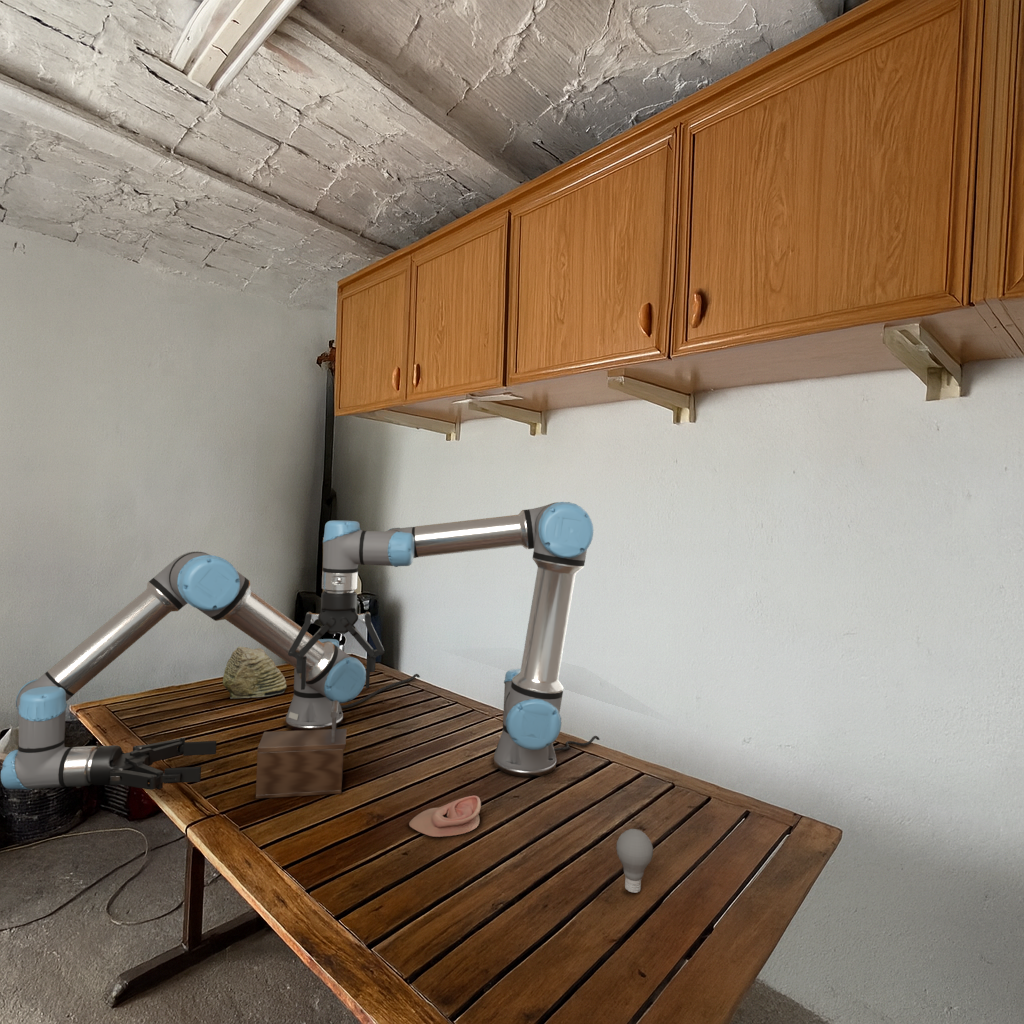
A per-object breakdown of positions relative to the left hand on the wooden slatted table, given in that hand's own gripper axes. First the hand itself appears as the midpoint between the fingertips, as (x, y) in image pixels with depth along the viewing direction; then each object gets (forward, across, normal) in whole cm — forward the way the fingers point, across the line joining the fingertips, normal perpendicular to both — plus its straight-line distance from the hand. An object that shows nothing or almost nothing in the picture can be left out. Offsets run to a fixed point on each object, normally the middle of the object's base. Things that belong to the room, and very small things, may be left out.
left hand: (208, 760), depth 134 cm
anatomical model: (+48, +20, -7) cm, 52 cm away
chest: (+19, 0, -7) cm, 20 cm away
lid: (+19, 0, +3) cm, 19 cm away
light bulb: (+76, +46, -7) cm, 89 cm away
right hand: (+25, 0, +15) cm, 29 cm away
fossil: (-1, -66, -7) cm, 67 cm away
